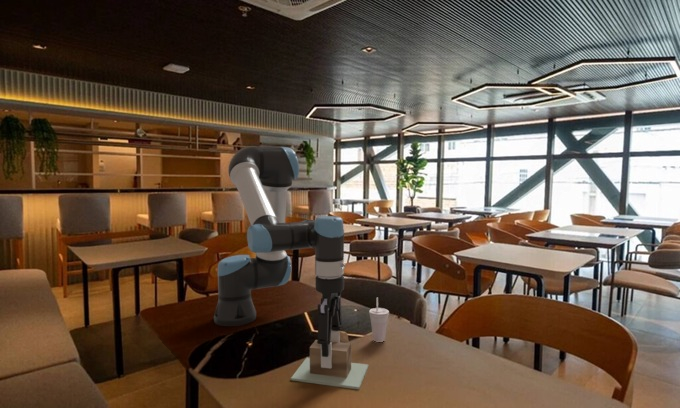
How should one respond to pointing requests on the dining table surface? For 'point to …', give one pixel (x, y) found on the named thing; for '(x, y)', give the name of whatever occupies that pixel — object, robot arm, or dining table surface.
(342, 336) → the shard
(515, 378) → the dining table surface
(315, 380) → the felt mat
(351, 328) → the dining table surface
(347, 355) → the beige block
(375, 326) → the smoothie
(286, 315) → the dining table surface
